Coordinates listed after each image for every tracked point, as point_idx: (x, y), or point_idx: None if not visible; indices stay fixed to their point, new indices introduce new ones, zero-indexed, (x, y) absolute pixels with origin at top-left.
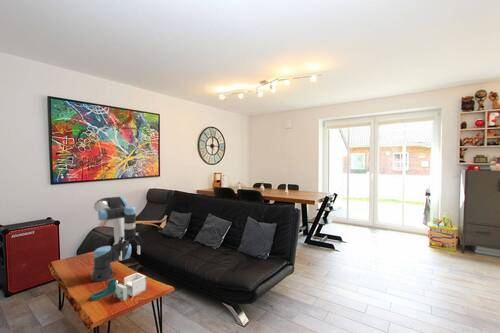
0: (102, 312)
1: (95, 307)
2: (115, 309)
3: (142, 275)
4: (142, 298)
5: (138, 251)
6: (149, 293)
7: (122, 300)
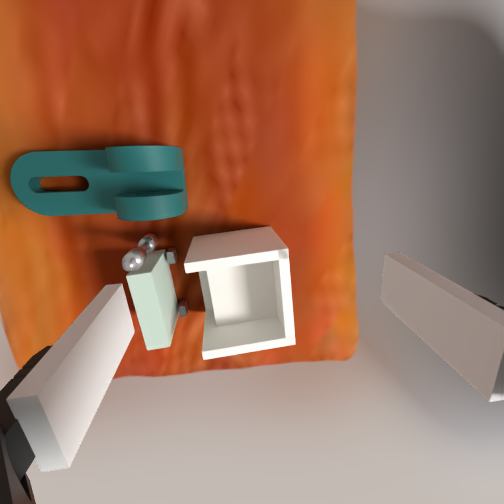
0: None
1: (37, 281)
2: None
3: (287, 317)
4: None
5: (406, 307)
6: None
7: None
